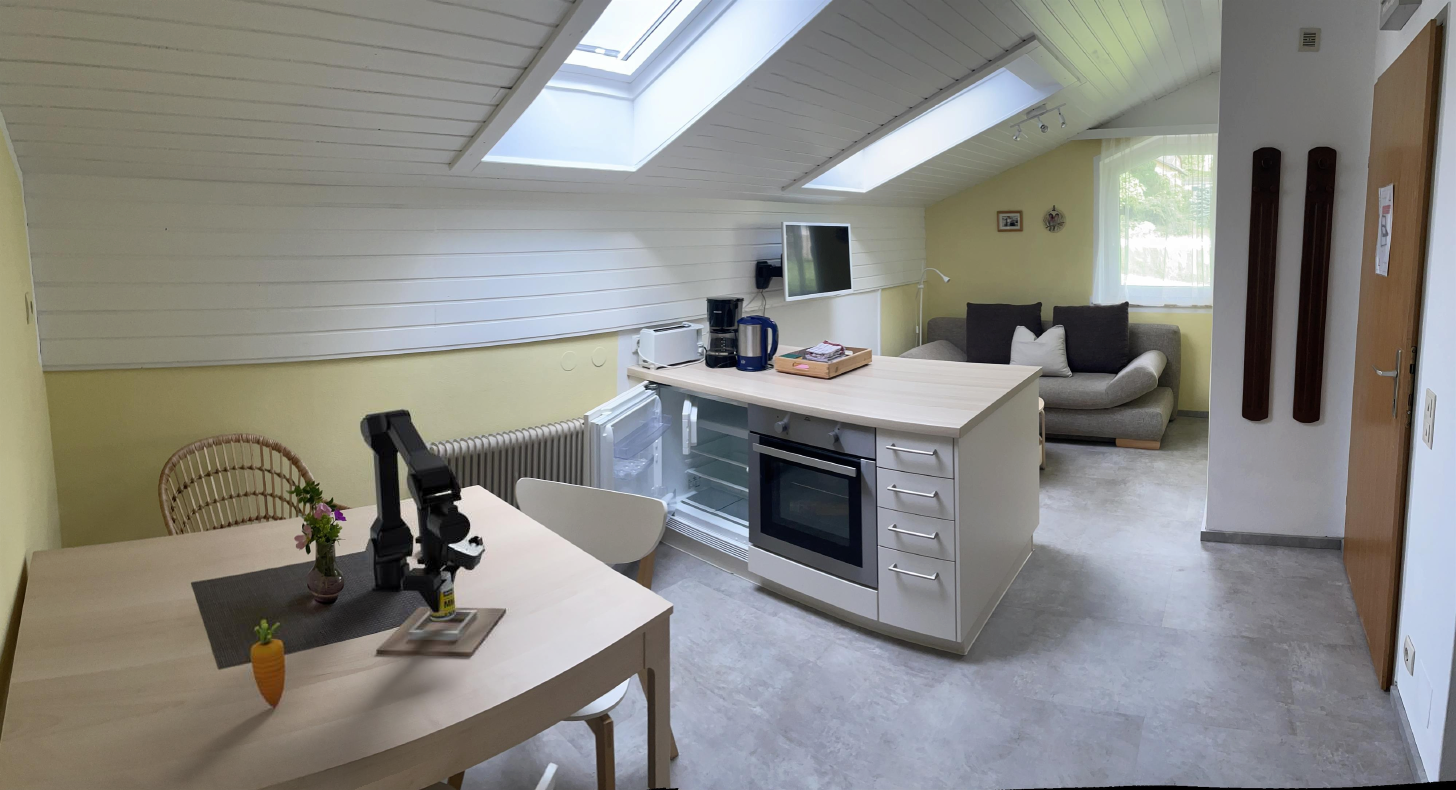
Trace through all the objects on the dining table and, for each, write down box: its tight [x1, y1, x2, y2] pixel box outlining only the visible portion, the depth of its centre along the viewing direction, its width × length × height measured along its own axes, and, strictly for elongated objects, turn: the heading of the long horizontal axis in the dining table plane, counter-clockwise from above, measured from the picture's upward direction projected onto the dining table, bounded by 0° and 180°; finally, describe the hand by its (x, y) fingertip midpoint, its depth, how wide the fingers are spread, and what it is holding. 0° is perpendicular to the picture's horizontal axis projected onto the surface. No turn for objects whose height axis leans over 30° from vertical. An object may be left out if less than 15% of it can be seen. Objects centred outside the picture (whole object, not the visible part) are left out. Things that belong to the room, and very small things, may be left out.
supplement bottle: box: [428, 571, 456, 621], centre depth 161 cm, size 5×5×8 cm
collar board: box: [375, 606, 507, 657], centre depth 162 cm, size 18×18×2 cm
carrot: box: [250, 619, 286, 708], centre depth 136 cm, size 5×5×15 cm
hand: (441, 606), depth 161 cm, fingers closed on supplement bottle, 5 cm apart
